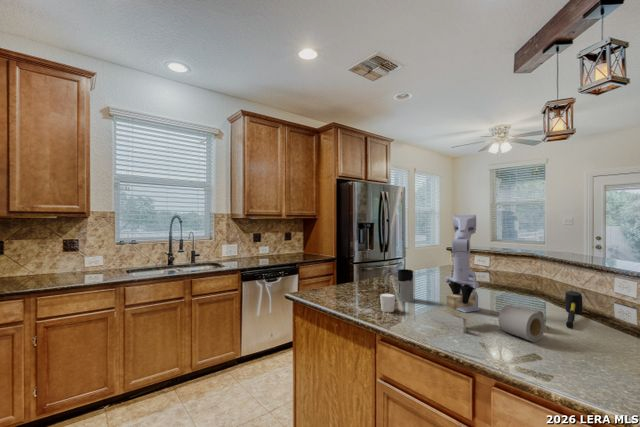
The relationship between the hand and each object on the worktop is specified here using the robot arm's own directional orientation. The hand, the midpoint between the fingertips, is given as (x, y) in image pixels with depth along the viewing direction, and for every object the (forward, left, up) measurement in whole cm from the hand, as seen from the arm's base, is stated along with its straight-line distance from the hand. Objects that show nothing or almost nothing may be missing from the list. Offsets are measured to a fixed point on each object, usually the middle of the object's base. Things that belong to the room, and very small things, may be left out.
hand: (461, 302), depth 125 cm
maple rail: (0, 0, -2) cm, 2 cm away
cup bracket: (+7, 0, -8) cm, 11 cm away
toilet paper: (-8, +19, -9) cm, 22 cm away
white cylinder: (-22, +14, -9) cm, 27 cm away
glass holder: (0, -38, -9) cm, 39 cm away
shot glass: (+17, -26, -9) cm, 32 cm away
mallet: (-46, +17, -9) cm, 49 cm away
